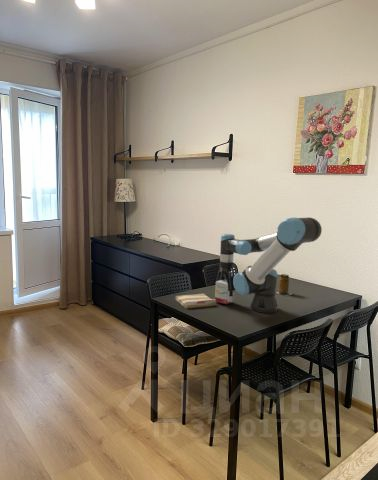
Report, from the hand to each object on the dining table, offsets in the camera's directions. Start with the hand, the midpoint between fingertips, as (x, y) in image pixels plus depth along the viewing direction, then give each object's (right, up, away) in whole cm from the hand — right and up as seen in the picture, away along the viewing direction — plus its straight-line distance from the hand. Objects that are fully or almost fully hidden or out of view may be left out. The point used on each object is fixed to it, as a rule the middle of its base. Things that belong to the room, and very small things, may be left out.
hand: (224, 298), depth 213 cm
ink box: (0, -2, 0) cm, 2 cm away
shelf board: (-17, -2, -1) cm, 17 cm away
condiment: (+41, -1, +25) cm, 47 cm away
